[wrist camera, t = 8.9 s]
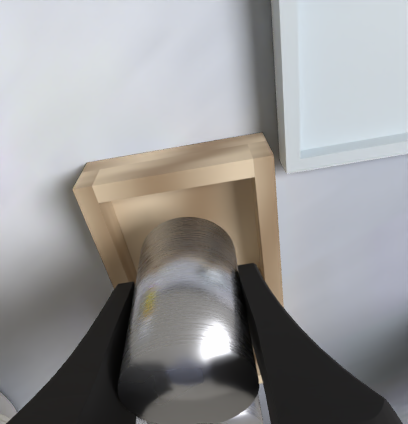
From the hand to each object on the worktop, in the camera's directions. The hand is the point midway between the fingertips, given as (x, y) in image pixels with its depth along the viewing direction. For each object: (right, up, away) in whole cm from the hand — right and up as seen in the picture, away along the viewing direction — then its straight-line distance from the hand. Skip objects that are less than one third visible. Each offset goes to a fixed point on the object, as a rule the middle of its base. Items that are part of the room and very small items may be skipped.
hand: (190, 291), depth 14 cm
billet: (0, +1, +1) cm, 2 cm away
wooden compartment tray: (0, 0, +6) cm, 6 cm away
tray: (+7, +9, 0) cm, 12 cm away
